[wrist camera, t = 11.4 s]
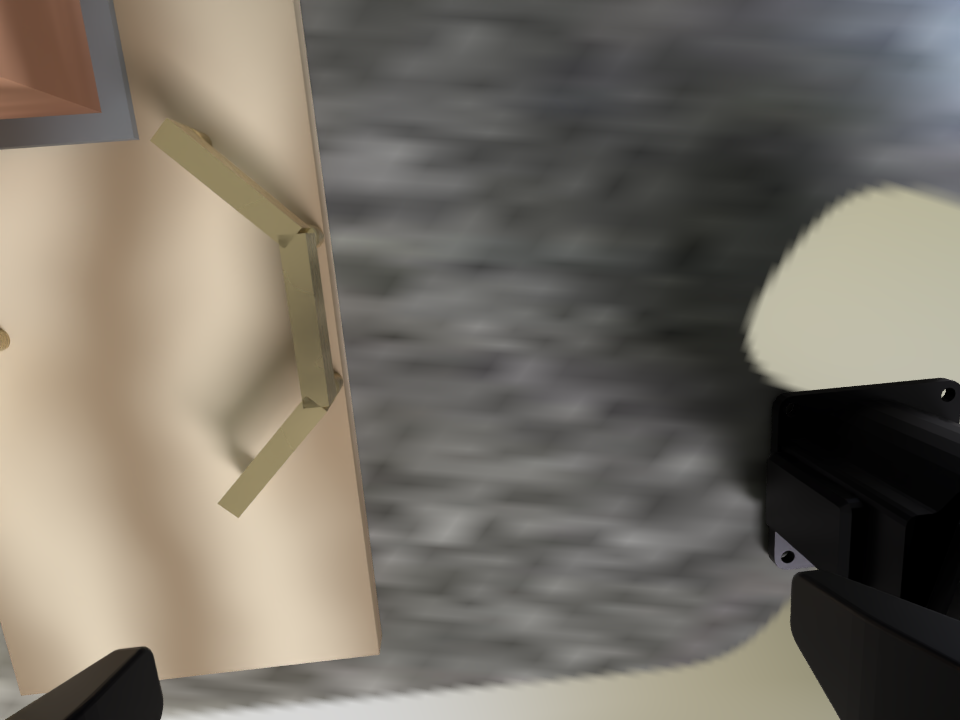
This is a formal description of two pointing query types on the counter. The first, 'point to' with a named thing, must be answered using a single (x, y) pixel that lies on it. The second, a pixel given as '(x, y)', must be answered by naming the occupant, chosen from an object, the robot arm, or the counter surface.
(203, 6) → the beige board
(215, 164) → the bent wooden frame
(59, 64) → the block
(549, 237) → the counter surface
